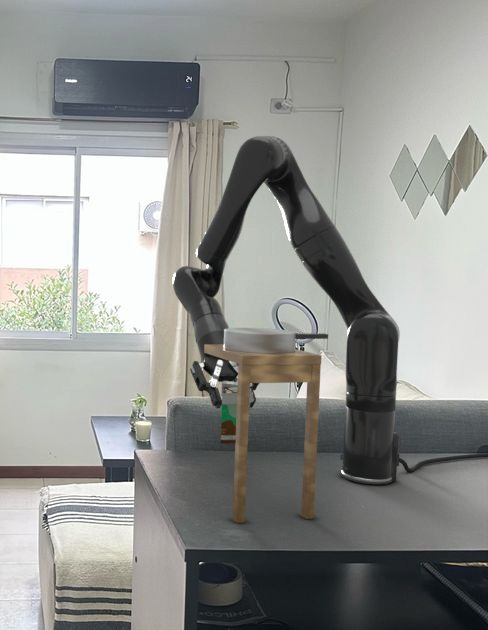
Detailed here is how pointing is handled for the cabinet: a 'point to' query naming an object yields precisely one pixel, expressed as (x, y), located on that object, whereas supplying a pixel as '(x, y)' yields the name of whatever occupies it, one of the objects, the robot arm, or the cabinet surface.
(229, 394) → the food container
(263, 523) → the cabinet surface
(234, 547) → the cabinet surface
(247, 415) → the pan shelf
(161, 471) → the cabinet surface
